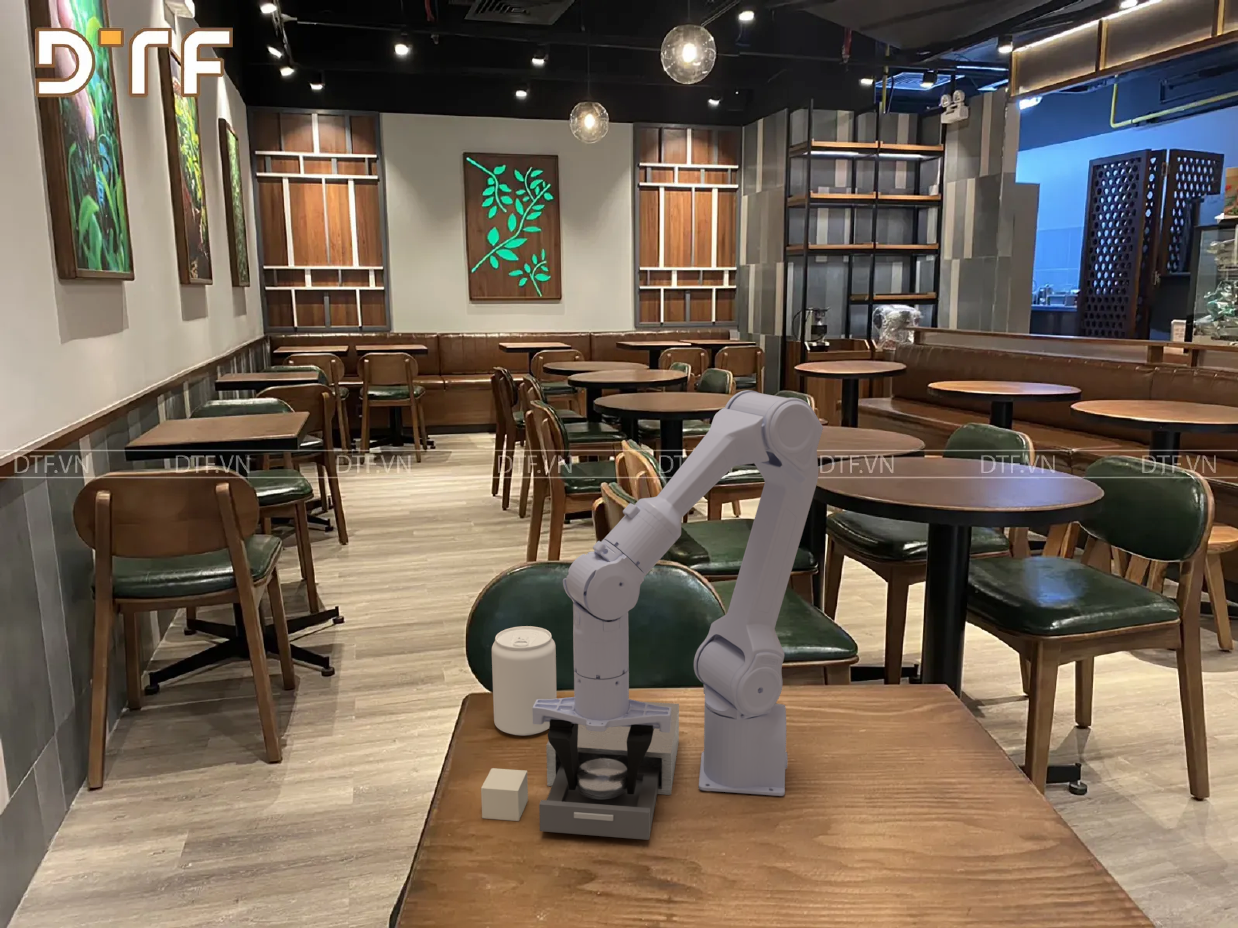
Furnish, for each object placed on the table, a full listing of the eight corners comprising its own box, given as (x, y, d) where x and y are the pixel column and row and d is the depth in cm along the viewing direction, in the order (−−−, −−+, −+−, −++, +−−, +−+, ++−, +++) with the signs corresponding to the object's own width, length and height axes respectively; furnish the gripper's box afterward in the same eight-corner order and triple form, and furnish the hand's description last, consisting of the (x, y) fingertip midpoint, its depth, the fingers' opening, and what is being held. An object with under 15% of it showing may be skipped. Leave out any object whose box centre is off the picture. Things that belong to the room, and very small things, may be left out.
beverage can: (561, 710, 117) (560, 625, 114) (551, 740, 109) (549, 650, 107) (502, 708, 118) (499, 623, 115) (487, 737, 110) (484, 648, 107)
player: (678, 741, 108) (679, 703, 108) (670, 794, 97) (671, 753, 96) (568, 734, 110) (567, 697, 109) (547, 785, 99) (546, 745, 98)
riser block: (528, 799, 96) (527, 770, 95) (518, 821, 92) (518, 790, 91) (492, 797, 97) (491, 768, 96) (482, 818, 93) (481, 788, 92)
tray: (659, 779, 98) (659, 755, 98) (648, 841, 87) (648, 814, 87) (562, 772, 100) (561, 748, 99) (539, 832, 89) (538, 805, 88)
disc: (630, 773, 96) (630, 759, 95) (624, 800, 90) (623, 786, 90) (582, 770, 96) (581, 757, 96) (572, 798, 91) (572, 784, 91)
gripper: (523, 680, 88) (527, 803, 90) (667, 688, 86) (667, 813, 88) (539, 652, 95) (542, 767, 97) (673, 659, 93) (672, 776, 95)
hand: (602, 787), depth 93 cm, fingers open, 6 cm apart
